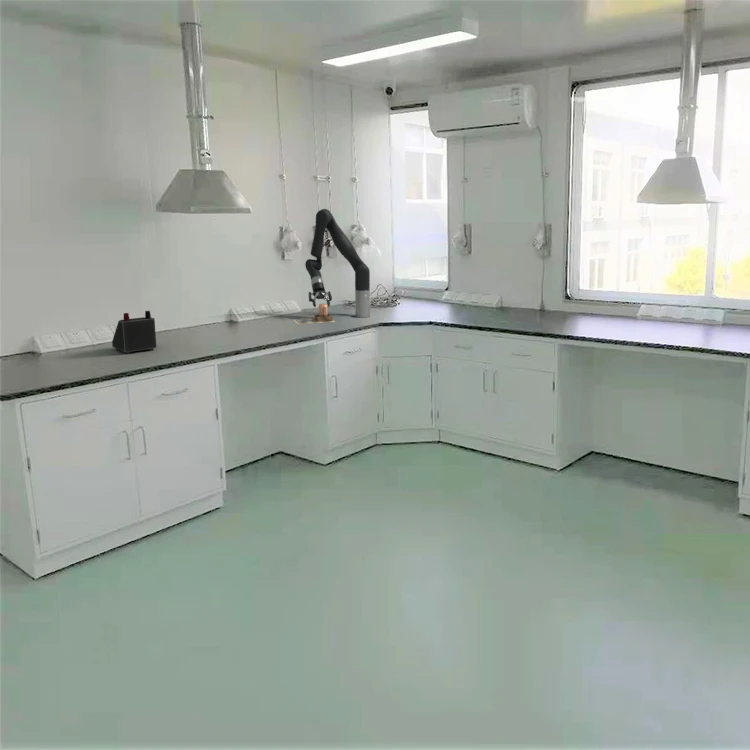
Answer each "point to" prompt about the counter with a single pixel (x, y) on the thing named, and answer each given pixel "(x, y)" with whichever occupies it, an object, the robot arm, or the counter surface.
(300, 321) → the station board
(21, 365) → the counter surface
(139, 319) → the voltmeter
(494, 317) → the counter surface
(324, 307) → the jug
